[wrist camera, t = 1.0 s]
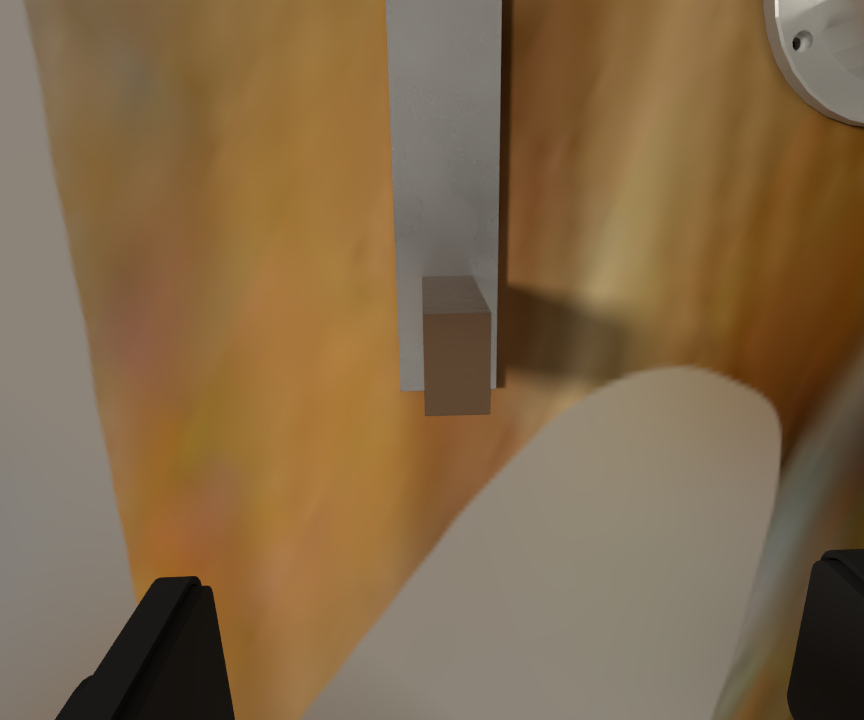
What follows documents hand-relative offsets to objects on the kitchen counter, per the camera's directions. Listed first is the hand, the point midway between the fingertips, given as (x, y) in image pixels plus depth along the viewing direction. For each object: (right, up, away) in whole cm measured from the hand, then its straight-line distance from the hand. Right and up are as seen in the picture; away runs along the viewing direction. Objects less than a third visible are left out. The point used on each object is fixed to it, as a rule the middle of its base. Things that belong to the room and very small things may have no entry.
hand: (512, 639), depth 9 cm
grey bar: (-1, +14, +19) cm, 23 cm away
